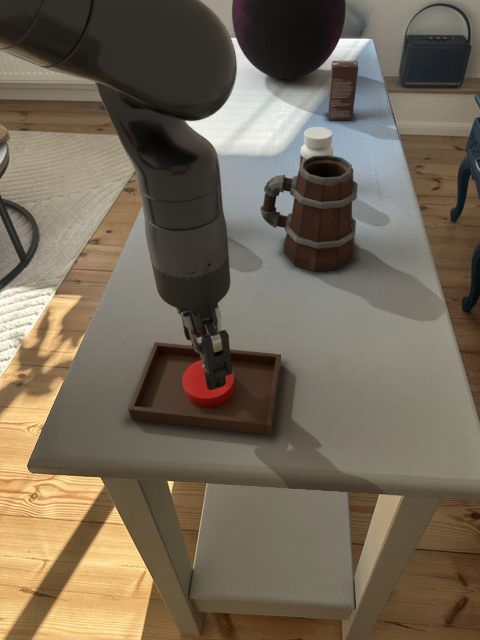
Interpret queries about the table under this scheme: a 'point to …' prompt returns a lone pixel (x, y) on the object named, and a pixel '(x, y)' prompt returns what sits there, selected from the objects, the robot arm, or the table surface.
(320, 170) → the mug
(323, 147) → the pill bottle
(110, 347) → the table surface
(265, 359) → the tray
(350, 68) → the box
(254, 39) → the dark purple ball
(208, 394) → the lid
